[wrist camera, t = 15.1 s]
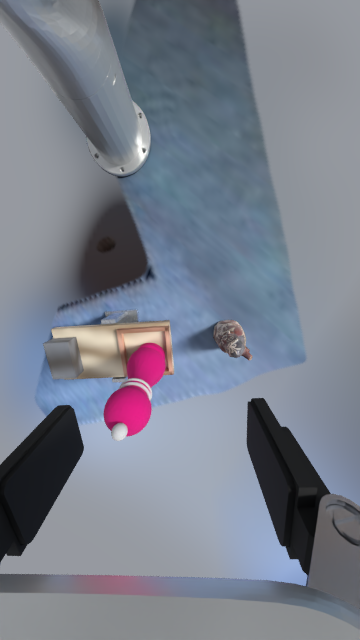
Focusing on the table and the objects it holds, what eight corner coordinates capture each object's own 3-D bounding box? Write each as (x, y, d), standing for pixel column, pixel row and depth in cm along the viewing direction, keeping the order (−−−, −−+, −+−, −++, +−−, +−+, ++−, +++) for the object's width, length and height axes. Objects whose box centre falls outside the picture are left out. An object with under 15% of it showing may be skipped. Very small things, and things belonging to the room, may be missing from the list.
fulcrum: (106, 311, 46) (88, 320, 38) (137, 309, 45) (126, 317, 37) (116, 365, 50) (102, 383, 42) (145, 363, 49) (136, 382, 41)
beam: (56, 327, 40) (40, 334, 36) (169, 320, 39) (167, 326, 34) (68, 375, 43) (55, 387, 39) (174, 370, 42) (172, 382, 37)
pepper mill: (158, 376, 40) (133, 472, 21) (128, 361, 40) (74, 447, 21) (173, 349, 39) (160, 429, 19) (142, 334, 38) (98, 400, 19)
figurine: (225, 313, 45) (239, 328, 33) (247, 330, 46) (267, 349, 34) (207, 335, 47) (214, 356, 35) (228, 350, 47) (242, 376, 36)
